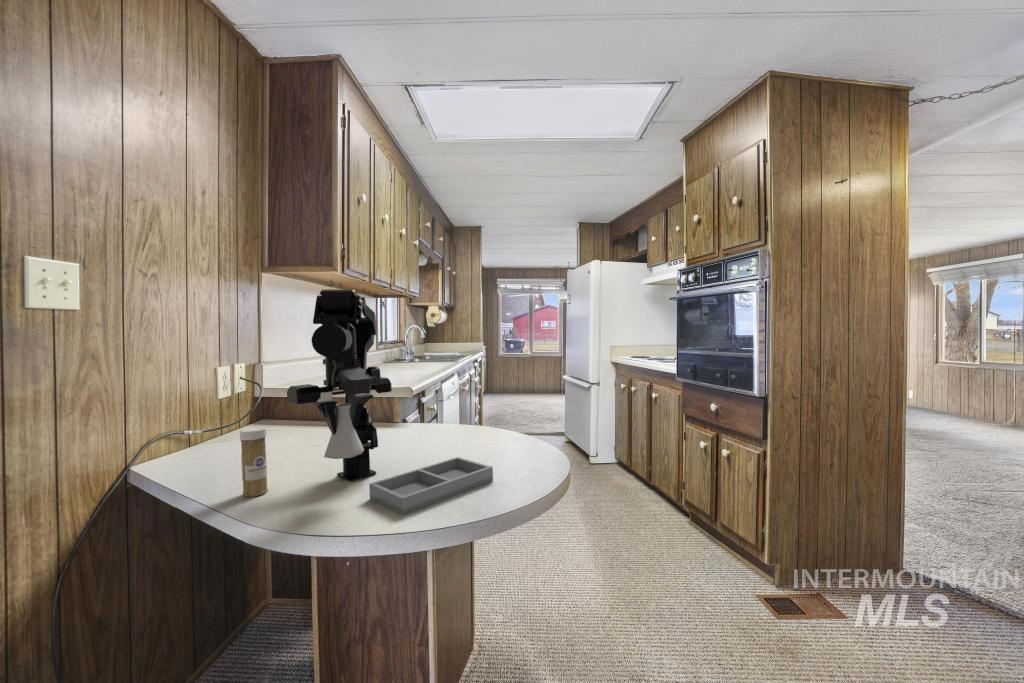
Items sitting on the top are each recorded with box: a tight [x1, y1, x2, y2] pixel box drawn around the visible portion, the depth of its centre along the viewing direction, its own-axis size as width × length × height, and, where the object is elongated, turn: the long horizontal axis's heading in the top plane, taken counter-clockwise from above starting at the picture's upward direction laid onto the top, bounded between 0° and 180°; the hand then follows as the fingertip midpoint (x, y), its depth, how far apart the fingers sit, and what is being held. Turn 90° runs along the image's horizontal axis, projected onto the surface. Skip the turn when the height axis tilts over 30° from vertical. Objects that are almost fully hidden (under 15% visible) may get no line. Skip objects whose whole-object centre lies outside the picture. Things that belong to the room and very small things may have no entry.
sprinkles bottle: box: [239, 426, 269, 498], centre depth 90 cm, size 5×5×14 cm
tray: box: [368, 456, 494, 516], centre depth 90 cm, size 12×22×3 cm, turn 137°
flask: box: [323, 402, 364, 460], centre depth 86 cm, size 7×7×10 cm
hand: (343, 432), depth 86 cm, fingers closed on flask, 3 cm apart
